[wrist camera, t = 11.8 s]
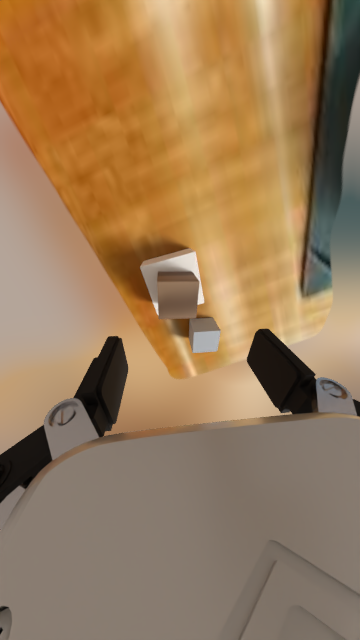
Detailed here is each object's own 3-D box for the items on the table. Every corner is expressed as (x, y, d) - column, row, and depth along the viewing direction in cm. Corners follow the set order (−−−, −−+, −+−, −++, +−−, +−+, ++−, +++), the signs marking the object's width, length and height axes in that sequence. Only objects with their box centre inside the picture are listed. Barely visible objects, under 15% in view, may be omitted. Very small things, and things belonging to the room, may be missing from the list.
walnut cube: (157, 271, 22) (157, 281, 18) (192, 271, 23) (199, 281, 18) (159, 303, 25) (158, 319, 20) (190, 302, 25) (196, 318, 21)
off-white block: (143, 260, 26) (139, 267, 21) (189, 247, 25) (195, 251, 21) (158, 302, 30) (157, 315, 26) (198, 292, 30) (204, 302, 25)
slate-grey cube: (189, 318, 32) (193, 332, 28) (212, 317, 33) (220, 330, 28) (188, 337, 35) (192, 353, 30) (210, 336, 35) (217, 351, 31)
